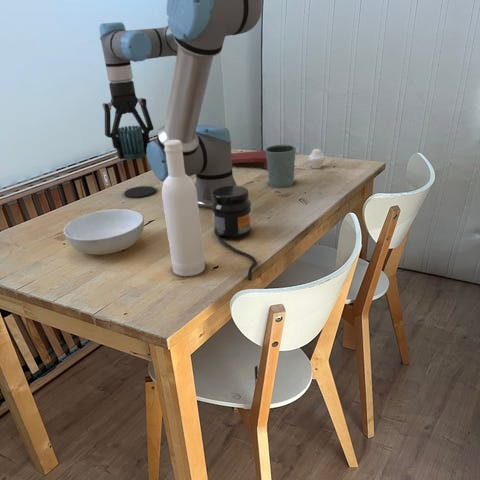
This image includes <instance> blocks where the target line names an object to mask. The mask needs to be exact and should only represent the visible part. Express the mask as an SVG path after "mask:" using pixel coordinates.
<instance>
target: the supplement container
mask: <svg viewBox="0 0 480 480" xmlns="http://www.w3.org/2000/svg"><path fill="white" fill-rule="evenodd" d="M249 193H250V192H249V189H248V188H246V187H244V186H241V185H236V186H225V187H221V188H218V189H216V190H214V191H213V200H214V202H213V203H212V209H211V210H212V218H213V230H214V231H213V233H214V234H215V236H216V237H218V236H220V237H221V239H222V240H226V241H227V240H228V241H234V240H235V241H236V240H241V239H244V238H246V237H248V236H249V235H250V234H251V233H252V231H253V227H252V208H251V207H252V203H251V200H250V199H249V198H250V197H249Z"/></svg>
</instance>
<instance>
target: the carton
mask: <svg viewBox="0 0 480 480" xmlns="http://www.w3.org/2000/svg"><path fill="white" fill-rule="evenodd" d="M231 157H232V164H242V163H243V164H244V163H263V168H264V170H268V169H267V160H266V152H265V149H264V150H255V151H254V150H253V151H243V152H231Z"/></svg>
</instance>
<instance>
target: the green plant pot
mask: <svg viewBox="0 0 480 480" xmlns="http://www.w3.org/2000/svg"><path fill="white" fill-rule="evenodd" d="M296 149H297V148H296V146H294V145H292V144H275V145H271V146H267V147H266V148H265V149H264V150H265V152H266V160H267V169H266V170H267V174H268V184H269V186H271V187H274V188H287V187H291V186H293V185H294V182H295V167H296V165H295V160H296V151H297V150H296Z"/></svg>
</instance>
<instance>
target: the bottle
mask: <svg viewBox="0 0 480 480" xmlns="http://www.w3.org/2000/svg"><path fill="white" fill-rule="evenodd" d="M164 145H165V148H164V150H165V152H166V159H167V167H168V174H169V175H168V177H167V178H166V179H165V180H164V182H163V181H162V182H163V183H162V187H161V188H162V189H161V198H162V207H163V212H164V217H165V226H166V231H167V238H168V246H169V252H170V258H171V259H170V262H171V267H172V271H173V273H174V274H175V275H177V276H178V277H179V276H180V277H195V276H197V275H200V274H201V273H203V272H204V270H205V268H206V265H205V262H206V261H205V255H204V247H203V238H202V237H203V236H202V230H201V229H202V228H201V227H202V226H201V220H200V212H199V211H200V210H199V207H198V200H197V190H196V186H195V181H194V180H193V178H191V176H187V175H186V174H185V168H184V160H183V146H182V143H181V141H180V140H168V141H166V142H165V143H164Z"/></svg>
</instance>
